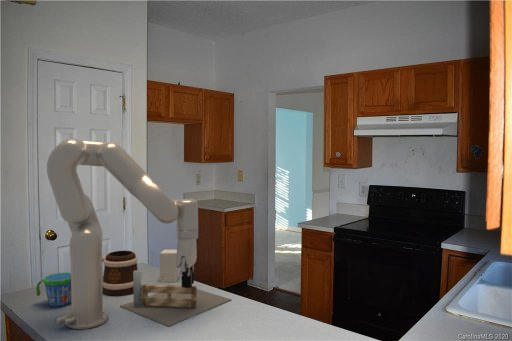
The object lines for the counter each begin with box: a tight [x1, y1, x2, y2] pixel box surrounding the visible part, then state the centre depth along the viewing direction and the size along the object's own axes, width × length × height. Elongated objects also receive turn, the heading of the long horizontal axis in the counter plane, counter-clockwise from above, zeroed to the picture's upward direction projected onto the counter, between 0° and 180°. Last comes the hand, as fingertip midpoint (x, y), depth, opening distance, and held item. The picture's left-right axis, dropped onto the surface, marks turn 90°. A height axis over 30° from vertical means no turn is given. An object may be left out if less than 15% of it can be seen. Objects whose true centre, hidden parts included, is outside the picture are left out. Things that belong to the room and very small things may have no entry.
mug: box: [102, 250, 139, 296], centre depth 163 cm, size 20×15×15 cm
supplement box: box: [159, 249, 181, 283], centre depth 176 cm, size 7×7×13 cm
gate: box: [142, 270, 198, 307], centre depth 143 cm, size 20×3×13 cm, turn 85°
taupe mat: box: [119, 284, 232, 328], centre depth 148 cm, size 30×27×1 cm
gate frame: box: [133, 269, 143, 307], centre depth 154 cm, size 26×3×13 cm, turn 142°
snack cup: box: [35, 271, 71, 308], centre depth 148 cm, size 16×11×10 cm
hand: (187, 284), depth 143 cm, fingers closed on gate, 3 cm apart
